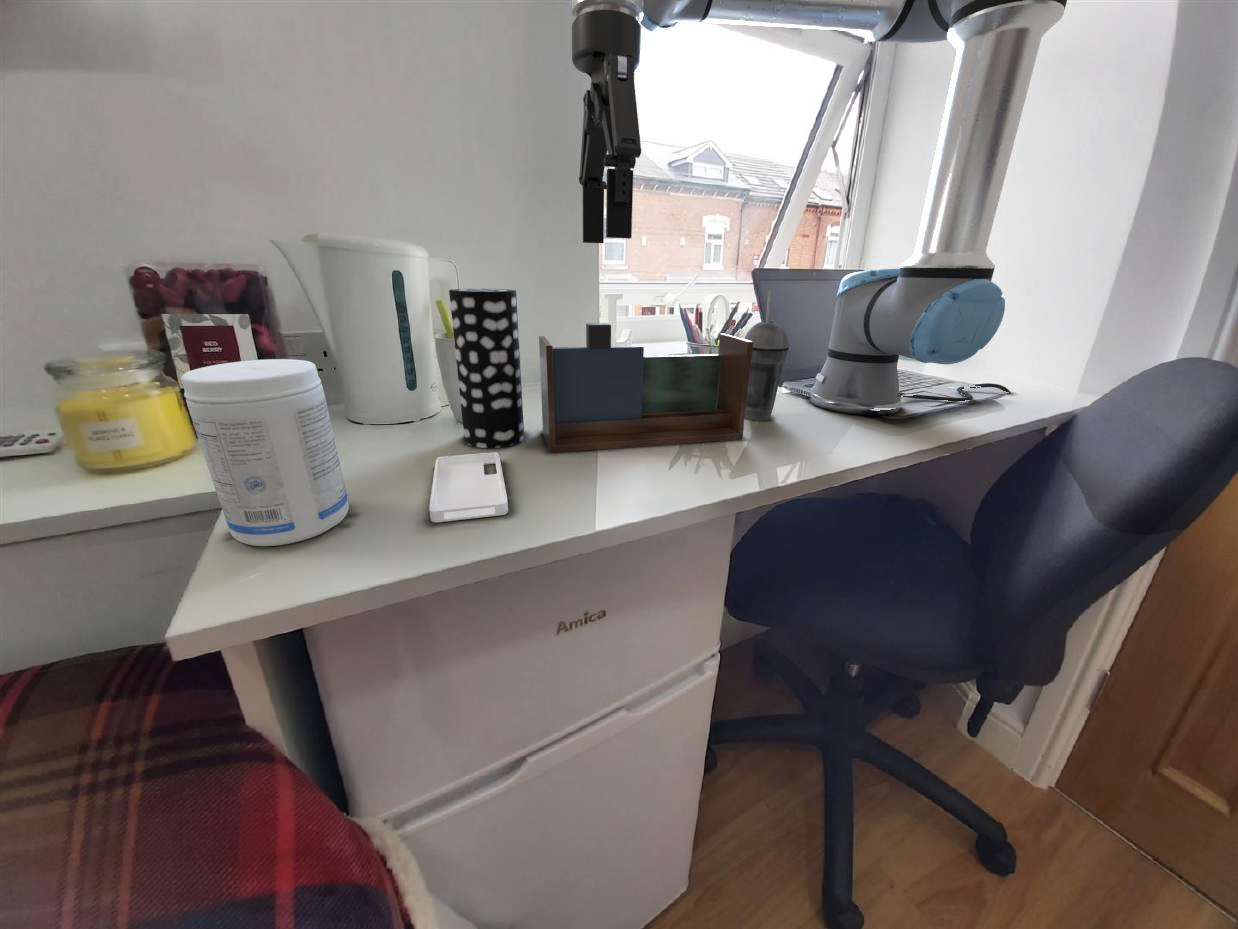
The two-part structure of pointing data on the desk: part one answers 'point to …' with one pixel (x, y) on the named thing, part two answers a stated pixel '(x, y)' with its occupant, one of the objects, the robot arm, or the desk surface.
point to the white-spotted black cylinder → (488, 366)
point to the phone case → (467, 488)
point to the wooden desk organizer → (663, 402)
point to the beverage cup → (765, 366)
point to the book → (597, 379)
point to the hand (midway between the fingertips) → (604, 241)
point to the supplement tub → (268, 448)
